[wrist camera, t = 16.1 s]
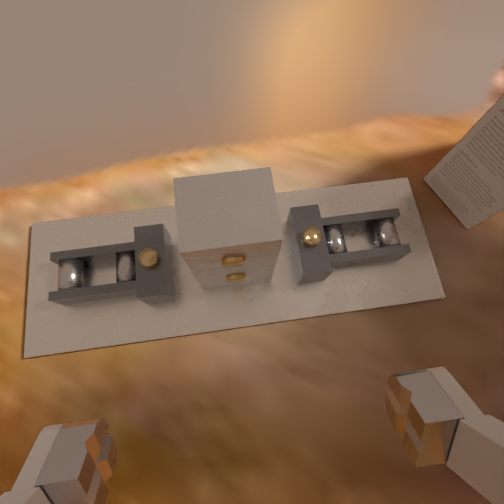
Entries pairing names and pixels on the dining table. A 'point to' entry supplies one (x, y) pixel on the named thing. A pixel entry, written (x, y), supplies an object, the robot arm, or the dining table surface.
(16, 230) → the dining table surface
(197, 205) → the mini drawer chest
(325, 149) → the dining table surface
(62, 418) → the dining table surface
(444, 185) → the small box
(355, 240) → the grey long flat board
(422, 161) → the dining table surface
